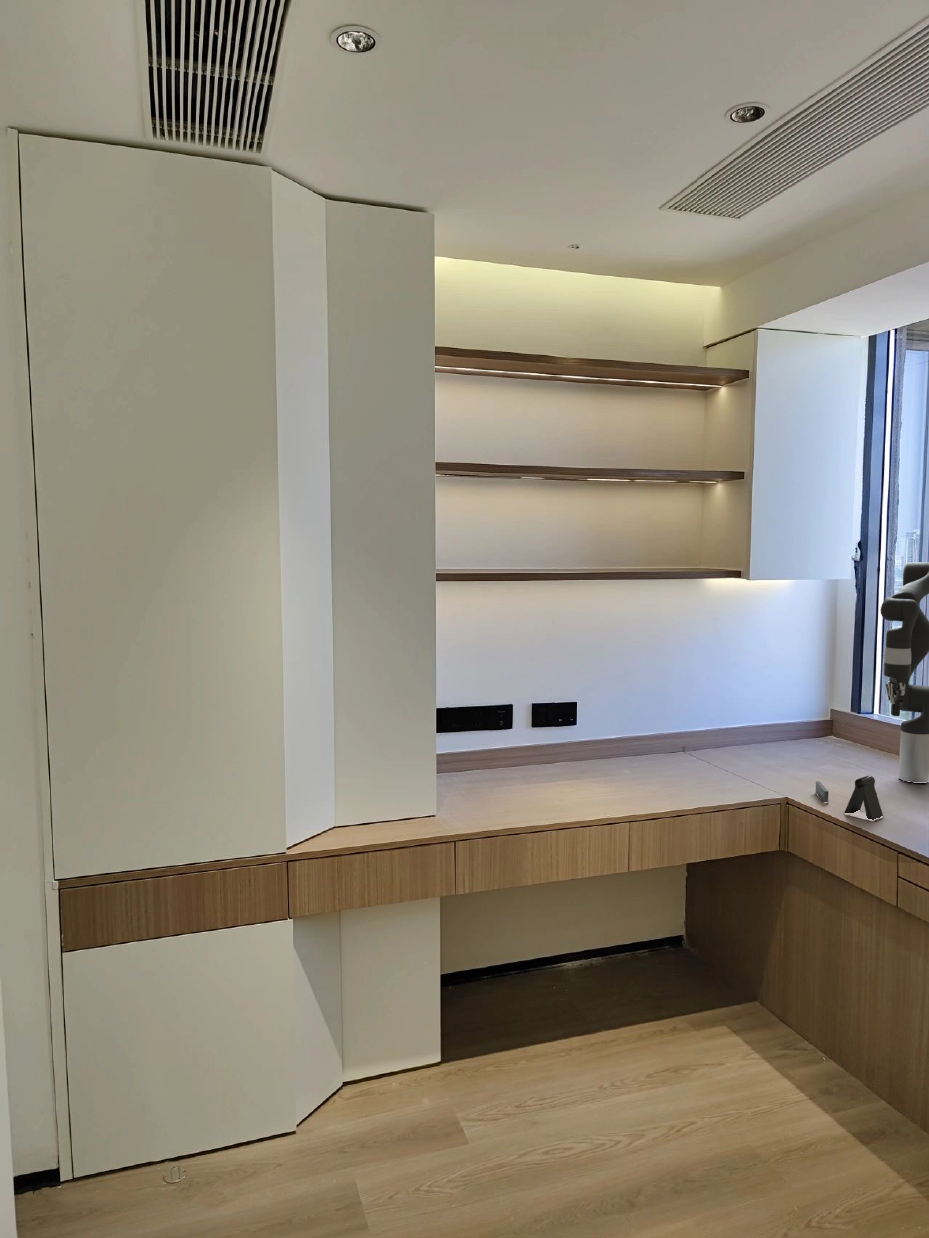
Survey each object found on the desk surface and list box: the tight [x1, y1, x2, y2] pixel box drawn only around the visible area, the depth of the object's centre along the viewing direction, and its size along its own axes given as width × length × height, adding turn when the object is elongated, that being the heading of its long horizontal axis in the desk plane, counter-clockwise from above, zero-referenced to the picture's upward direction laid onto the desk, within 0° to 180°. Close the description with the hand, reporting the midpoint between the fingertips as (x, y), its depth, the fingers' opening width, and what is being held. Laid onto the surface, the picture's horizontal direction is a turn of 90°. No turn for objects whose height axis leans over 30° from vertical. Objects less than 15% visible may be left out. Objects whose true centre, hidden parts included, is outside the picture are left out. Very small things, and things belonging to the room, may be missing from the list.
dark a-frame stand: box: [843, 775, 884, 820], centre depth 246 cm, size 9×6×12 cm, turn 35°
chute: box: [815, 780, 829, 803], centre depth 263 cm, size 11×15×4 cm
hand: (895, 715), depth 262 cm, fingers closed
